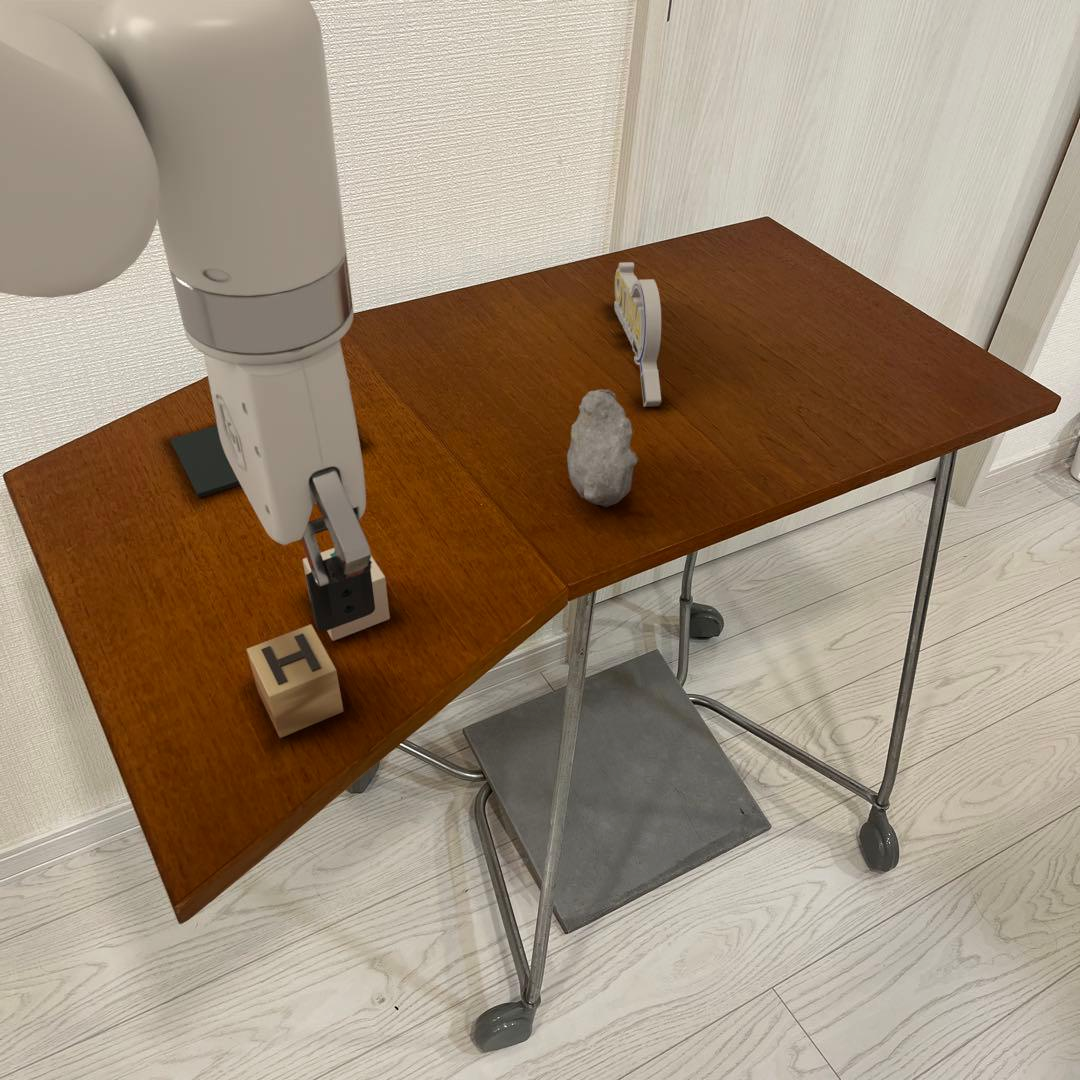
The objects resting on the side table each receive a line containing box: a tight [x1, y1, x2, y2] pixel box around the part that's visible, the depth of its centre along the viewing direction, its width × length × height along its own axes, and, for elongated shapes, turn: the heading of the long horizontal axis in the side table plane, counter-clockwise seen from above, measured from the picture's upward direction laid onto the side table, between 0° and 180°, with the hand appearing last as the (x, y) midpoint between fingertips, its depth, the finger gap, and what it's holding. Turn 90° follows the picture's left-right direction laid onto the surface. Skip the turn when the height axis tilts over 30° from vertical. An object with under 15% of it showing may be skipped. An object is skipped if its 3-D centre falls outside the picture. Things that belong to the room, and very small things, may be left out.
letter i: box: [302, 547, 391, 642], centre depth 72 cm, size 4×4×4 cm
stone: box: [566, 389, 639, 508], centre depth 80 cm, size 9×7×10 cm
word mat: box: [169, 425, 241, 499], centre depth 86 cm, size 14×8×1 cm, turn 120°
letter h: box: [246, 624, 344, 739], centre depth 66 cm, size 4×4×4 cm
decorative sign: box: [613, 261, 662, 408], centre depth 96 cm, size 18×1×10 cm, turn 6°
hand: (313, 561), depth 57 cm, fingers open, 9 cm apart
